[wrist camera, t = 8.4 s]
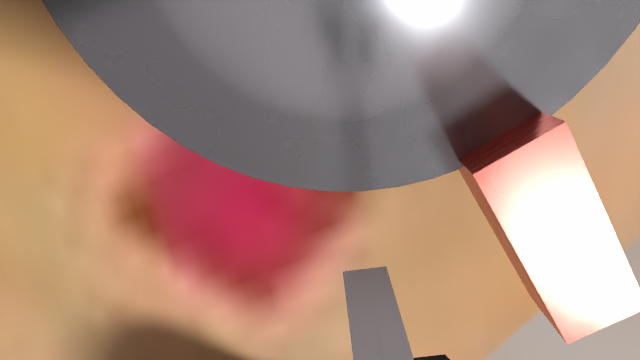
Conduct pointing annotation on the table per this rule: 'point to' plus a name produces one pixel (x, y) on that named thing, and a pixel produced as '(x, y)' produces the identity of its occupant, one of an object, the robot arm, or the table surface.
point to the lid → (390, 110)
